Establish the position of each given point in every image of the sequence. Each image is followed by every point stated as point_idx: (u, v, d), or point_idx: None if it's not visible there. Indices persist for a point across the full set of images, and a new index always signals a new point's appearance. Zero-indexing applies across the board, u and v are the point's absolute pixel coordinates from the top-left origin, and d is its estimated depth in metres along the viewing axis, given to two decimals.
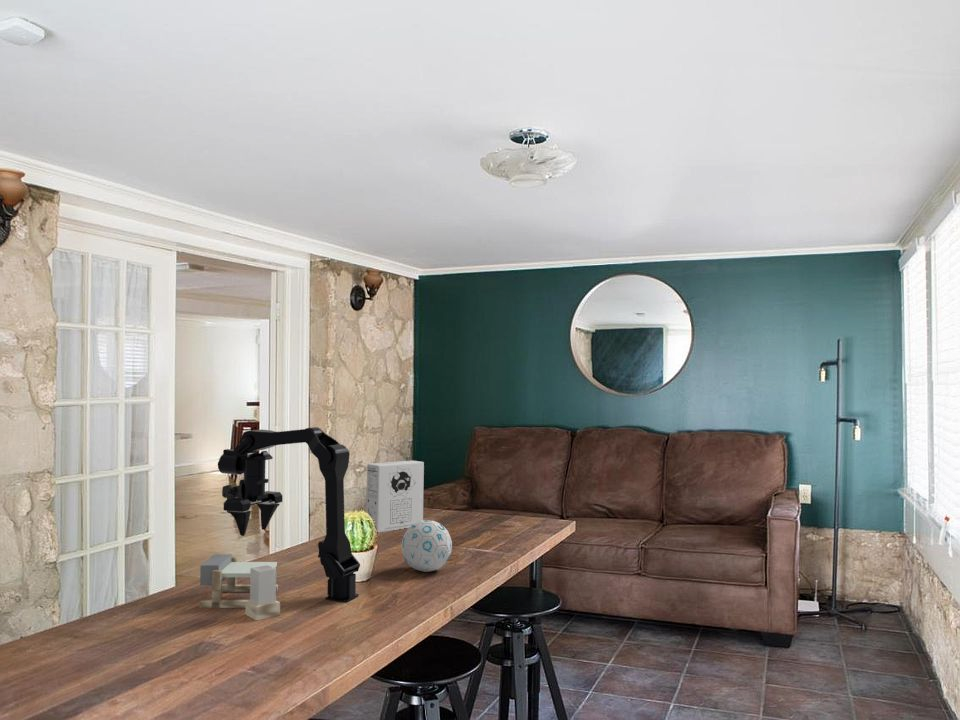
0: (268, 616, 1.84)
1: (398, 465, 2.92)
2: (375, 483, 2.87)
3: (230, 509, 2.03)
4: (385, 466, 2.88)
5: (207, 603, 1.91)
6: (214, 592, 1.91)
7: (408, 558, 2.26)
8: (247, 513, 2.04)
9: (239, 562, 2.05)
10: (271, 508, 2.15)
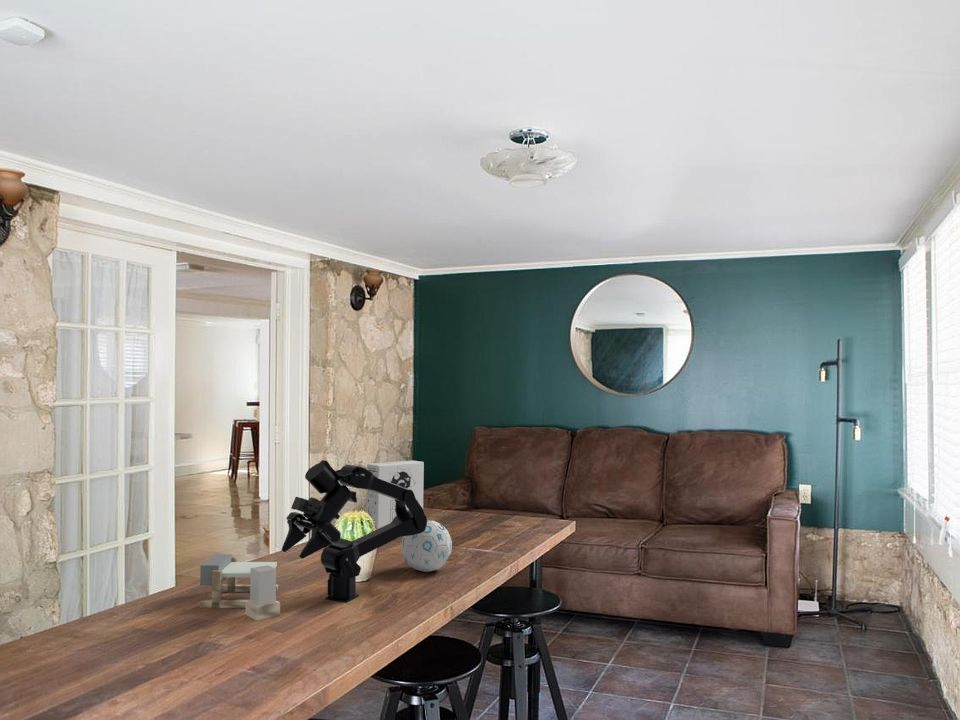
0: (268, 616, 1.84)
1: (398, 465, 2.92)
2: None
3: (329, 534, 1.88)
4: (385, 466, 2.88)
5: (207, 603, 1.91)
6: (214, 592, 1.91)
7: (408, 558, 2.26)
8: None
9: (239, 562, 2.05)
10: (302, 536, 1.99)
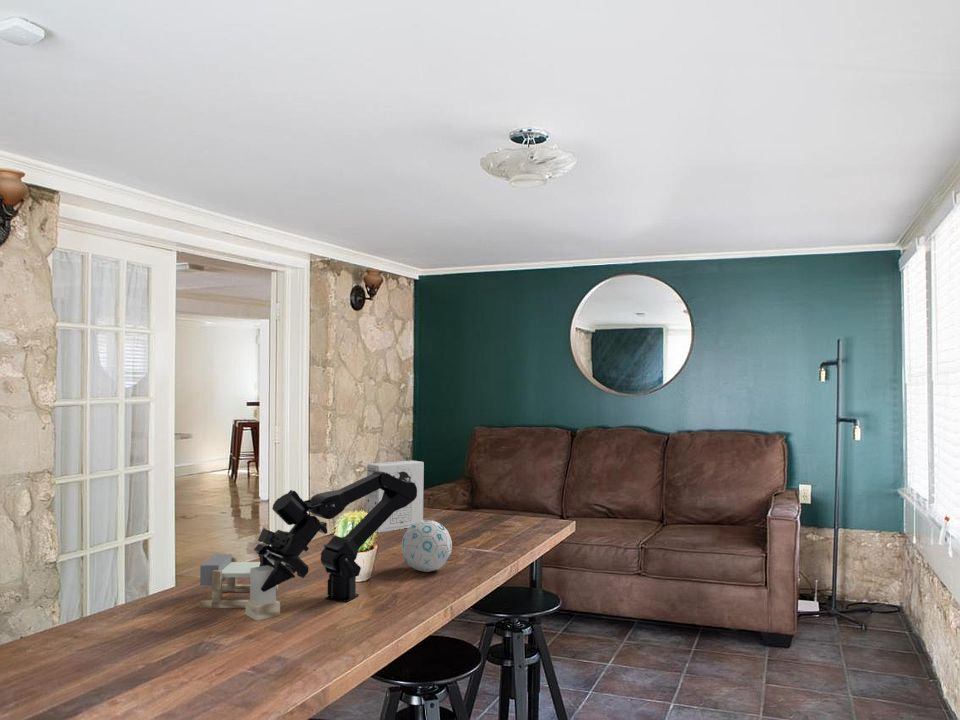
0: (268, 616, 1.84)
1: (398, 465, 2.92)
2: None
3: (296, 568, 1.82)
4: (385, 466, 2.88)
5: (207, 603, 1.91)
6: (214, 592, 1.91)
7: (408, 558, 2.26)
8: None
9: (239, 562, 2.05)
10: None
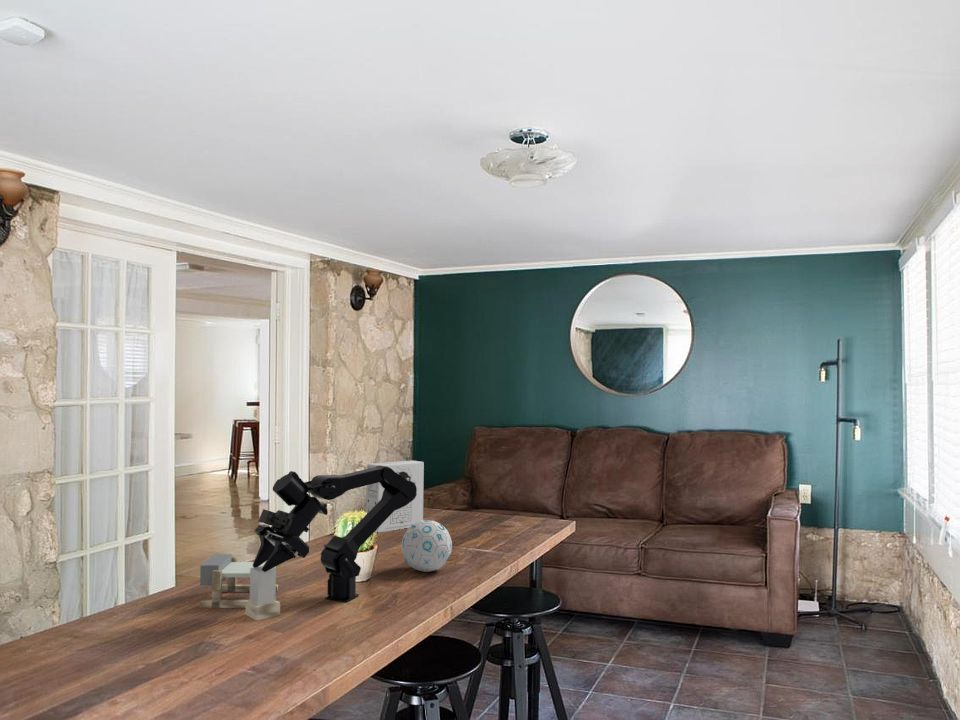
0: (268, 616, 1.84)
1: (398, 465, 2.92)
2: (375, 483, 2.87)
3: (297, 548, 1.82)
4: None
5: (207, 603, 1.91)
6: (214, 592, 1.91)
7: (408, 558, 2.26)
8: None
9: (239, 562, 2.05)
10: None
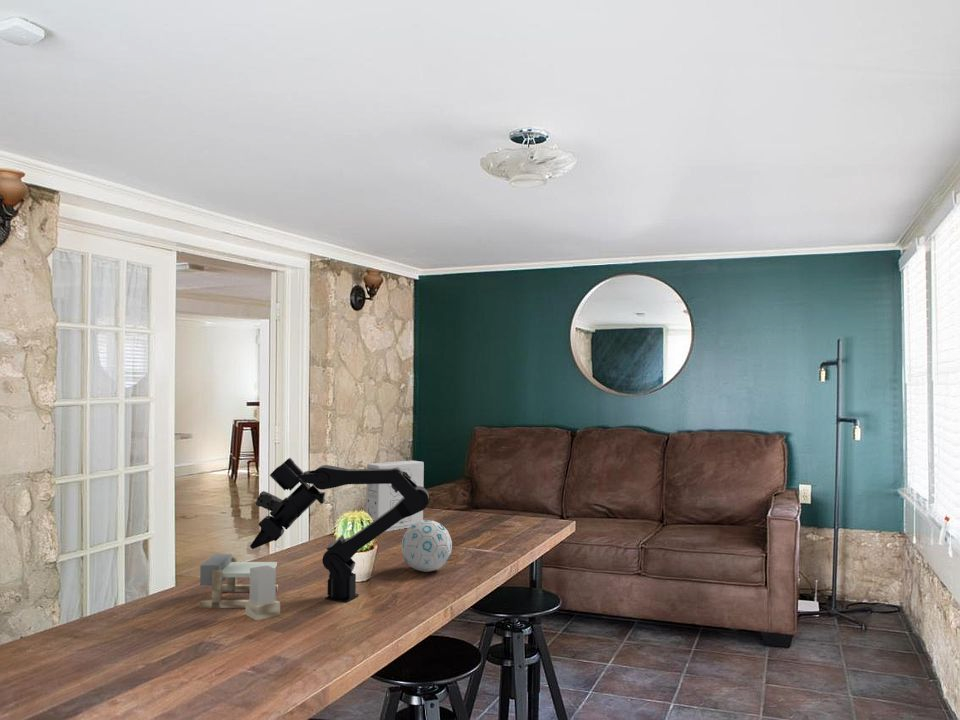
0: (268, 616, 1.84)
1: (398, 465, 2.92)
2: None
3: (266, 530, 1.91)
4: (385, 466, 2.88)
5: (207, 603, 1.91)
6: (214, 592, 1.91)
7: (408, 558, 2.26)
8: None
9: (239, 562, 2.05)
10: None
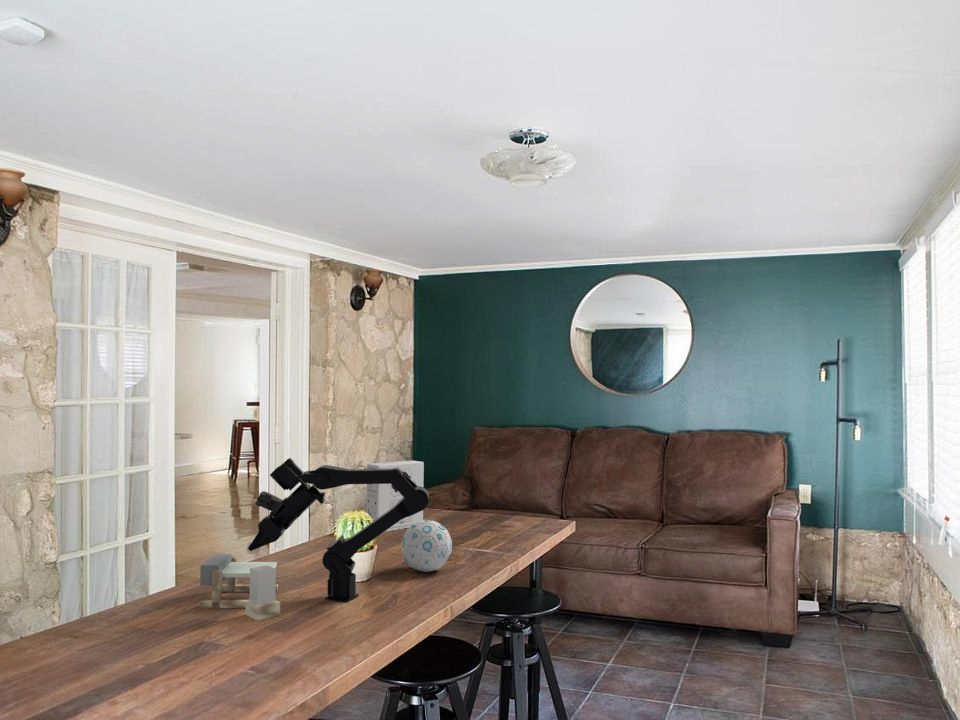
0: (268, 616, 1.84)
1: (398, 465, 2.92)
2: None
3: (266, 530, 1.91)
4: (385, 466, 2.88)
5: (207, 603, 1.91)
6: (214, 592, 1.91)
7: (408, 558, 2.26)
8: None
9: (239, 562, 2.05)
10: None
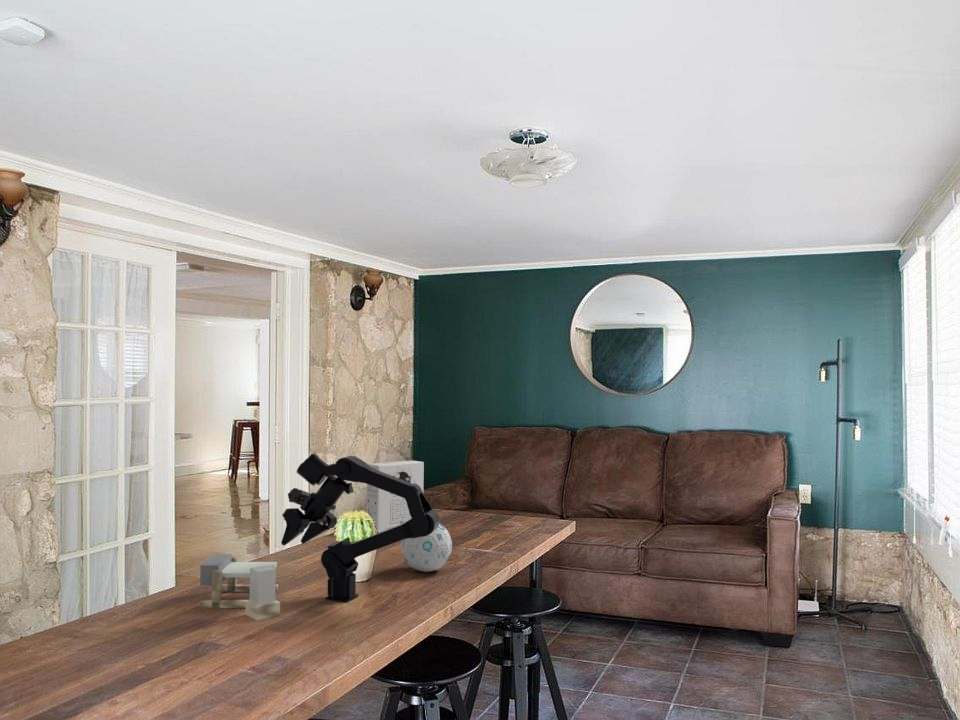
0: (268, 616, 1.84)
1: (398, 465, 2.92)
2: None
3: (288, 520, 1.94)
4: (385, 466, 2.88)
5: (207, 603, 1.91)
6: (214, 592, 1.91)
7: (408, 558, 2.26)
8: (300, 532, 1.96)
9: (239, 562, 2.05)
10: (320, 529, 2.07)
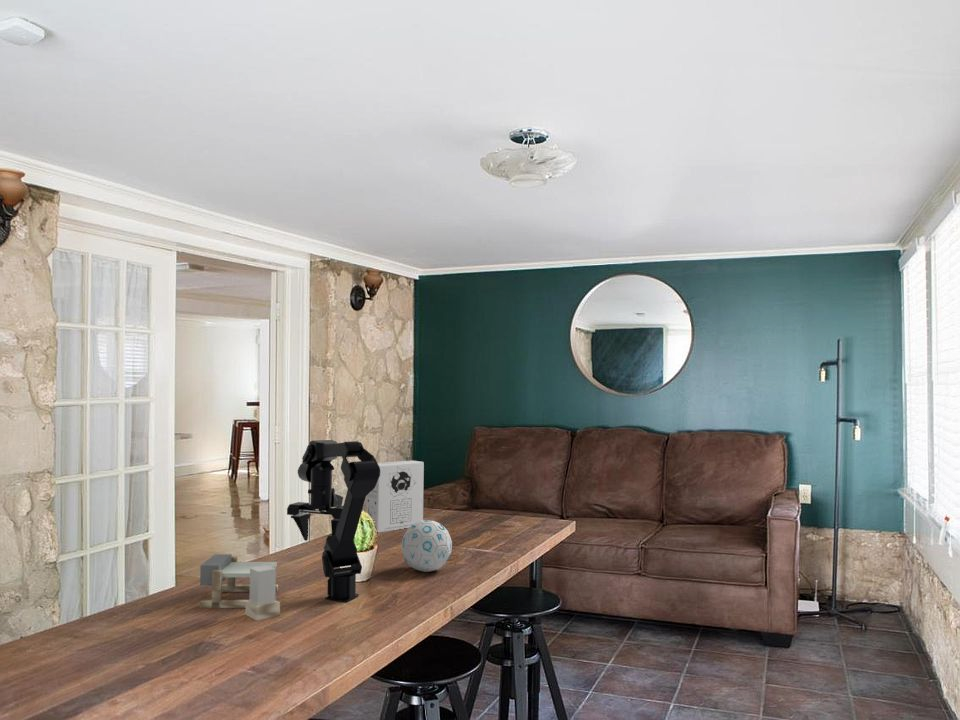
0: (268, 616, 1.84)
1: (398, 465, 2.92)
2: None
3: None
4: (385, 466, 2.88)
5: (207, 603, 1.91)
6: (214, 592, 1.91)
7: (408, 558, 2.26)
8: (294, 518, 2.13)
9: (239, 562, 2.05)
10: None
